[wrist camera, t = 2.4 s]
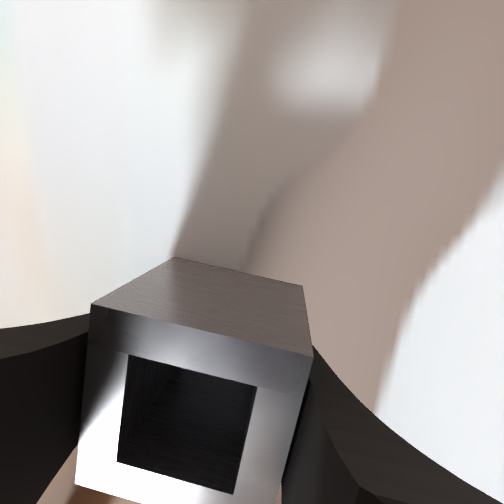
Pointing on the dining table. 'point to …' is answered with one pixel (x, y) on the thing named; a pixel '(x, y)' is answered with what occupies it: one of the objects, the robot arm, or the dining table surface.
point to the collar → (193, 386)
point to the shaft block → (76, 488)
